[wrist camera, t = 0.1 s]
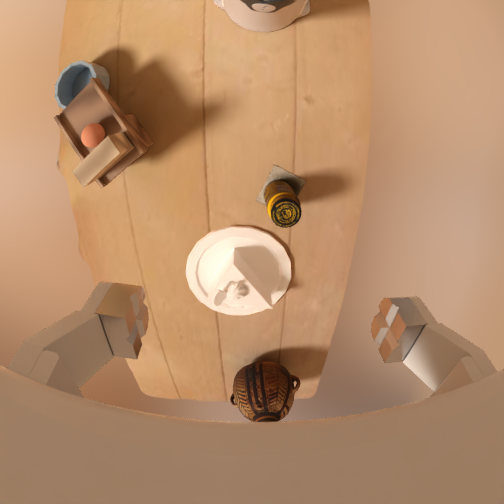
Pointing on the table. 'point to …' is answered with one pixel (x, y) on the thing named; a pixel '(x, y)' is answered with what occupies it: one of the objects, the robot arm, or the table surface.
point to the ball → (92, 135)
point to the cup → (78, 80)
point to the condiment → (282, 197)
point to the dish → (238, 270)
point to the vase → (264, 391)
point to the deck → (109, 117)
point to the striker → (103, 158)
